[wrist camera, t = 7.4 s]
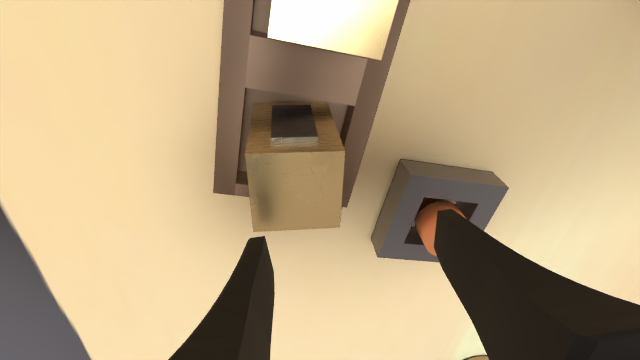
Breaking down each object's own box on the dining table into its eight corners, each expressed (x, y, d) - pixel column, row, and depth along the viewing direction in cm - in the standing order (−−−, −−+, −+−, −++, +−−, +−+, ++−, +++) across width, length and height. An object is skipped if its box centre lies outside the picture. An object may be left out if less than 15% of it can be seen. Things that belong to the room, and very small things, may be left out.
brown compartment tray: (418, -92, 15) (441, -102, 13) (340, 185, 23) (346, 207, 21) (240, -147, 14) (233, -167, 12) (219, 170, 21) (213, 192, 19)
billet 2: (325, 164, 21) (340, 227, 16) (259, 166, 20) (253, 231, 15) (327, 98, 19) (345, 146, 14) (253, 99, 18) (244, 149, 13)
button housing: (492, 172, 24) (508, 187, 22) (452, 245, 27) (464, 264, 26) (400, 159, 22) (410, 174, 21) (370, 238, 26) (377, 257, 24)
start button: (467, 203, 23) (482, 222, 21) (448, 238, 25) (461, 258, 23) (424, 198, 23) (436, 217, 21) (408, 234, 24) (418, 254, 22)
